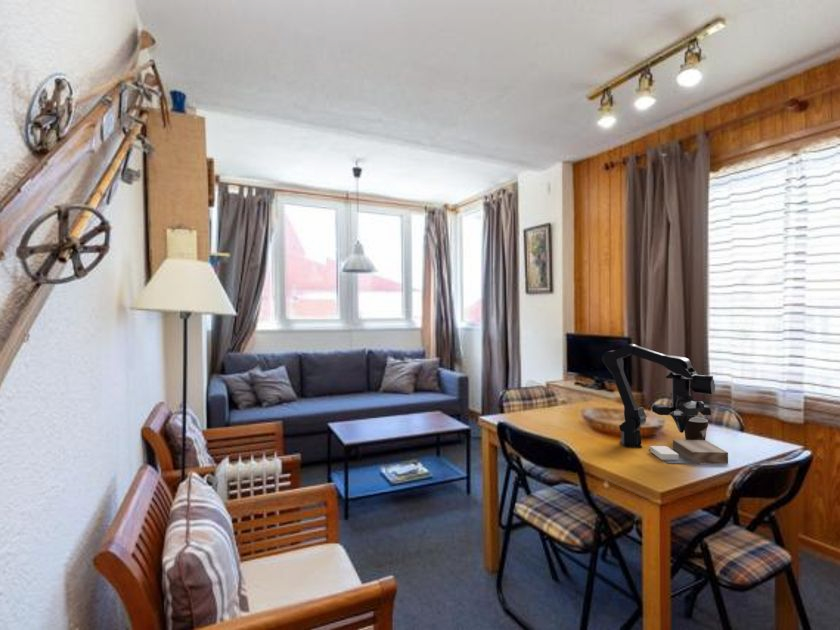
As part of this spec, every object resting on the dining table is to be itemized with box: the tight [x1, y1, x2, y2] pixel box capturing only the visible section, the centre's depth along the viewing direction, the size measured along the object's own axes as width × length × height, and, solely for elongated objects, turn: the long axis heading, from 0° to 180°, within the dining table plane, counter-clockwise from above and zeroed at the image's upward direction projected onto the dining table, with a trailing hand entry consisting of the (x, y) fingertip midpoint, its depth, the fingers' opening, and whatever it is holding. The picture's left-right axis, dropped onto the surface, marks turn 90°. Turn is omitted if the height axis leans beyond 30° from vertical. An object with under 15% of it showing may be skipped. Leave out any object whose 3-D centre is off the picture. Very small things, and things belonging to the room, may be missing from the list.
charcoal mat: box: [648, 448, 701, 465], centre depth 158 cm, size 11×15×1 cm
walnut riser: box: [672, 439, 729, 465], centre depth 158 cm, size 12×14×4 cm
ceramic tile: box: [649, 445, 679, 461], centre depth 158 cm, size 6×9×2 cm, turn 175°
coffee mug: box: [683, 416, 709, 440], centre depth 172 cm, size 12×9×10 cm
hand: (681, 432), depth 158 cm, fingers closed
